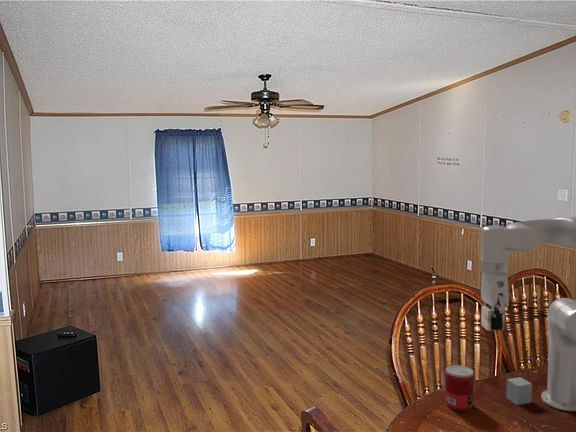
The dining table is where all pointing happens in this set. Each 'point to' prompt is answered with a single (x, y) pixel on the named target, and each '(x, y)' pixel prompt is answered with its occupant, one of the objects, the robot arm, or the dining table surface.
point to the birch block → (488, 317)
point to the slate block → (519, 391)
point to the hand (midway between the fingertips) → (492, 325)
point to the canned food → (459, 387)
